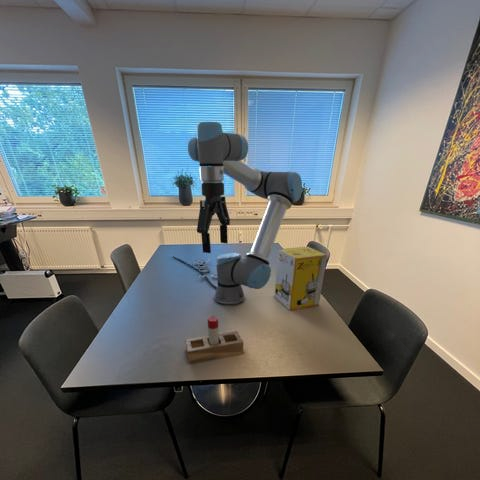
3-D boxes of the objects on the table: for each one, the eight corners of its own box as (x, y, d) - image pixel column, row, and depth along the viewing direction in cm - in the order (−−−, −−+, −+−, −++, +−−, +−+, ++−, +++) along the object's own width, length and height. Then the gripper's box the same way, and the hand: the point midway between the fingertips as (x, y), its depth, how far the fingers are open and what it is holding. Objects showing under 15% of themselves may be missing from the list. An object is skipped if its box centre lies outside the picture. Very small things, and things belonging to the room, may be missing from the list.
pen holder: (186, 350, 95) (185, 339, 93) (237, 341, 100) (237, 330, 98) (189, 363, 89) (187, 351, 86) (243, 353, 94) (243, 341, 91)
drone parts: (226, 261, 189) (226, 257, 187) (235, 279, 160) (235, 274, 158) (194, 262, 184) (194, 258, 183) (197, 280, 155) (197, 275, 153)
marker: (209, 349, 96) (206, 317, 88) (218, 348, 96) (216, 315, 89) (210, 355, 93) (208, 322, 86) (220, 353, 94) (218, 320, 86)
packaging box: (318, 305, 128) (327, 255, 115) (289, 310, 123) (295, 258, 110) (301, 292, 141) (307, 246, 128) (274, 296, 136) (278, 249, 123)
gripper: (203, 184, 72) (208, 258, 83) (238, 180, 92) (238, 240, 103) (180, 184, 75) (188, 255, 86) (219, 180, 95) (221, 238, 106)
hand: (216, 247), depth 95 cm, fingers open, 13 cm apart
